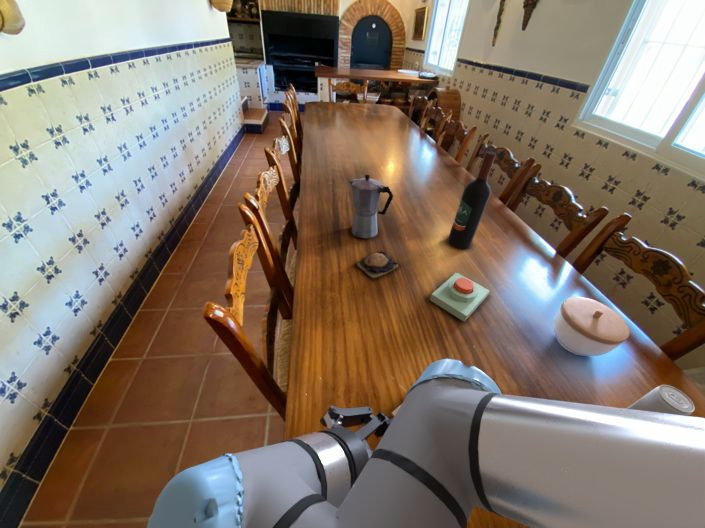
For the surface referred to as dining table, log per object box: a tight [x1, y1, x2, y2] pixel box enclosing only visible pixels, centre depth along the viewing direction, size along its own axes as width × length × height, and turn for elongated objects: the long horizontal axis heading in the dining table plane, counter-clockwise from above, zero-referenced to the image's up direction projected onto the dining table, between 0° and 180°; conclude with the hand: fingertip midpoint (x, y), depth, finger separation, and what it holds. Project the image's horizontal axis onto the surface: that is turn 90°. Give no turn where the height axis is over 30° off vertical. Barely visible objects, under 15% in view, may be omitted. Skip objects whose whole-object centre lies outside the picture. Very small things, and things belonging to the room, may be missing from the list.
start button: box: [454, 277, 474, 294], centre depth 76 cm, size 4×4×2 cm
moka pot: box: [348, 174, 394, 239], centre depth 94 cm, size 10×15×20 cm, turn 64°
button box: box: [429, 272, 491, 323], centre depth 78 cm, size 13×10×4 cm
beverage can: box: [625, 384, 696, 416], centre depth 51 cm, size 5×5×12 cm
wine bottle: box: [447, 150, 497, 250], centre depth 90 cm, size 8×8×30 cm
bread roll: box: [356, 250, 399, 280], centre depth 86 cm, size 11×8×4 cm
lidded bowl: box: [552, 296, 631, 357], centre depth 66 cm, size 13×13×11 cm
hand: (406, 434), depth 49 cm, fingers closed on lever, 4 cm apart
